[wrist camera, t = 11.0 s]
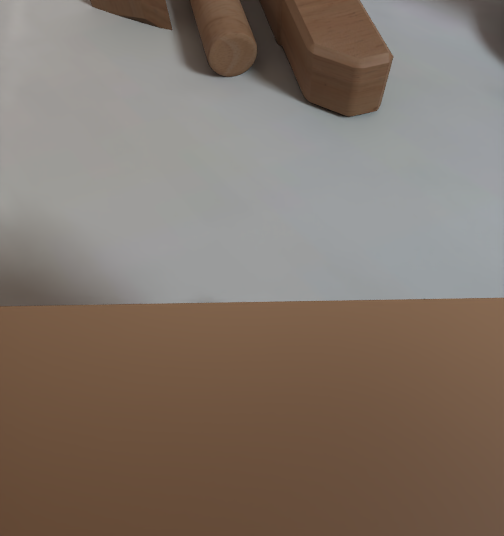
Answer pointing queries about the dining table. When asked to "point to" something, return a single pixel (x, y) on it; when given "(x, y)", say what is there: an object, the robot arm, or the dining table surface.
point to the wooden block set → (289, 44)
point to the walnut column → (253, 419)
